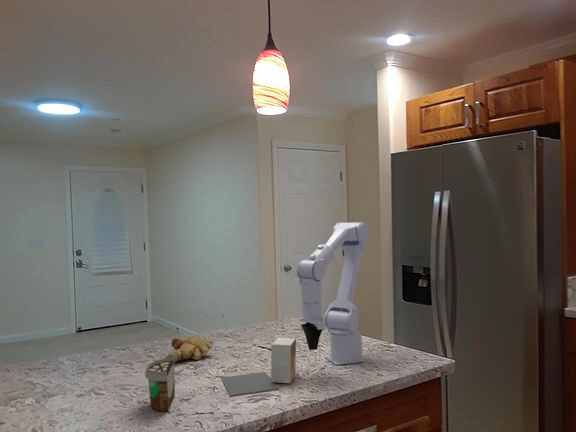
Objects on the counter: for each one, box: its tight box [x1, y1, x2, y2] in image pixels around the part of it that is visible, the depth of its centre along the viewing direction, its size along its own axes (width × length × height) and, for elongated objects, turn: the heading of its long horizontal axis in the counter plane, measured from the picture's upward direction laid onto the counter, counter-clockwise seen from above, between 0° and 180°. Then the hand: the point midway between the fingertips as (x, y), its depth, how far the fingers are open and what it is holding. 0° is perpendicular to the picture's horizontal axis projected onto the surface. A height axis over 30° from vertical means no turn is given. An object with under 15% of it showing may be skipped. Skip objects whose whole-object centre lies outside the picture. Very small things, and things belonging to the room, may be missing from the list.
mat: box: [220, 371, 280, 397], centre depth 129 cm, size 13×14×1 cm
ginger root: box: [165, 336, 214, 362], centre depth 155 cm, size 16×16×8 cm
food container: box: [144, 357, 176, 413], centre depth 116 cm, size 12×6×10 cm, turn 5°
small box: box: [270, 337, 297, 384], centre depth 132 cm, size 8×6×10 cm
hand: (312, 349), depth 134 cm, fingers closed
